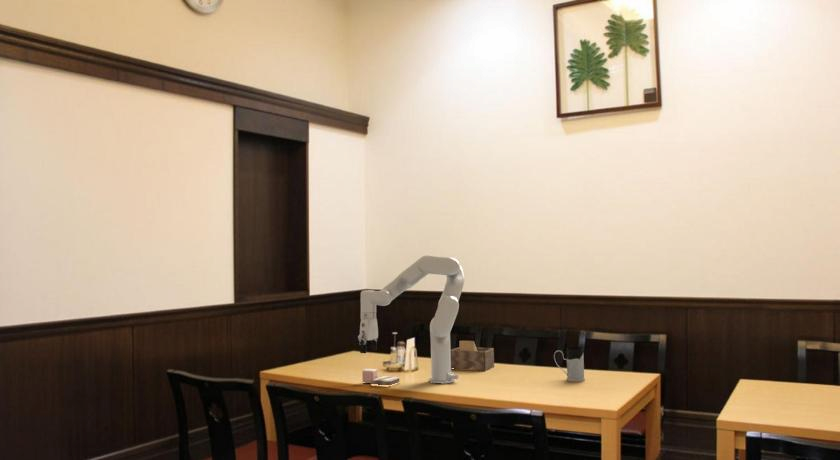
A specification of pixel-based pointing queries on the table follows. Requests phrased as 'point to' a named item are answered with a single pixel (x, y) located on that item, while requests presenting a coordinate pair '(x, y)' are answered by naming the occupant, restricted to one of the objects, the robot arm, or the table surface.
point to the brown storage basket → (473, 359)
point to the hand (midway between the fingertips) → (368, 351)
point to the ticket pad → (385, 380)
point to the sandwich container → (467, 348)
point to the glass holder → (574, 364)
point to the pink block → (369, 375)
